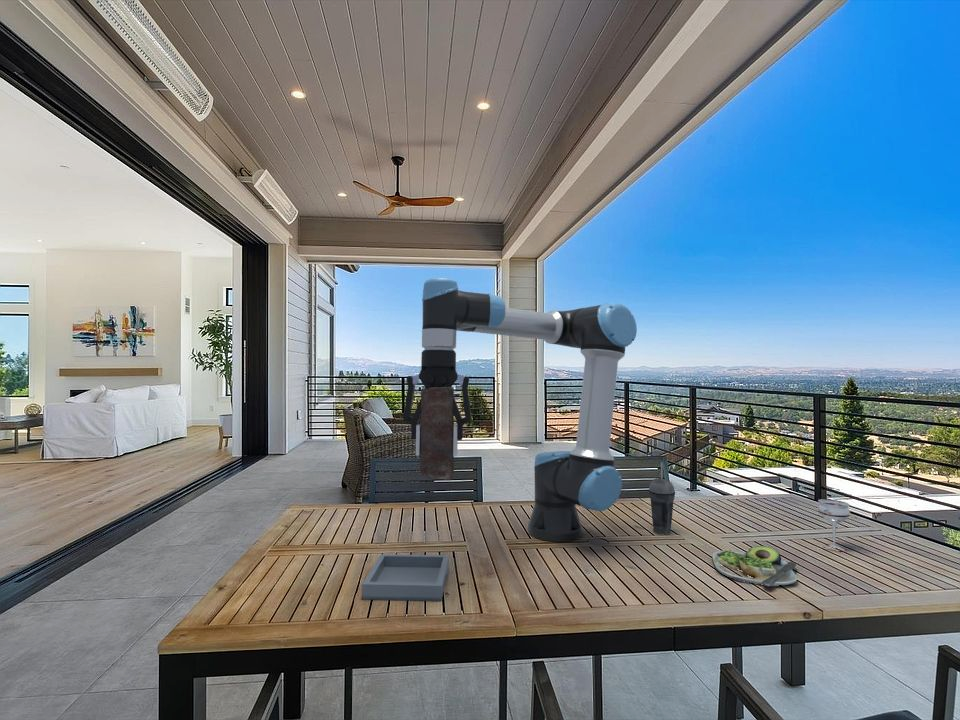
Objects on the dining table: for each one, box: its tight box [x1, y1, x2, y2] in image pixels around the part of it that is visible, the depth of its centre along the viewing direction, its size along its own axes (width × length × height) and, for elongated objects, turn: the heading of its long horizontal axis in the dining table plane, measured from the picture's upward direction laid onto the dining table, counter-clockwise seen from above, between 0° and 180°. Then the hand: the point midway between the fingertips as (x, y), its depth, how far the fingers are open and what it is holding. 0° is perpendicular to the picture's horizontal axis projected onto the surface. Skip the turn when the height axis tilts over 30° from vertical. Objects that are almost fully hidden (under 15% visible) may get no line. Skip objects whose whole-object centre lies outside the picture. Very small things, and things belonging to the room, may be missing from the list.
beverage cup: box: [648, 461, 676, 536], centre depth 137 cm, size 7×7×20 cm
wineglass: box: [817, 498, 851, 548], centre depth 125 cm, size 7×7×12 cm
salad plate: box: [711, 545, 798, 587], centre depth 109 cm, size 19×18×5 cm
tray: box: [361, 553, 450, 602], centre depth 103 cm, size 16×16×3 cm
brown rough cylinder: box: [419, 386, 455, 481], centre depth 103 cm, size 8×7×20 cm
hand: (436, 454), depth 103 cm, fingers closed on brown rough cylinder, 7 cm apart
